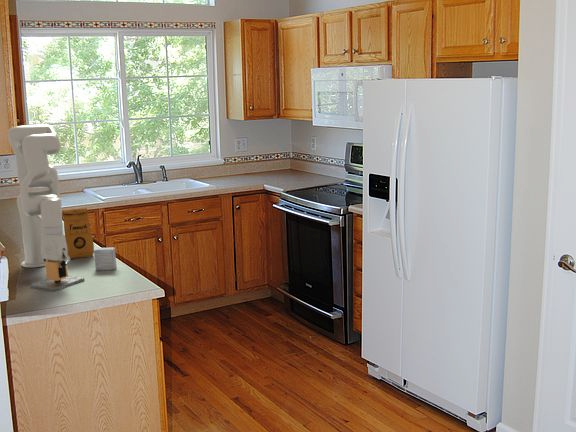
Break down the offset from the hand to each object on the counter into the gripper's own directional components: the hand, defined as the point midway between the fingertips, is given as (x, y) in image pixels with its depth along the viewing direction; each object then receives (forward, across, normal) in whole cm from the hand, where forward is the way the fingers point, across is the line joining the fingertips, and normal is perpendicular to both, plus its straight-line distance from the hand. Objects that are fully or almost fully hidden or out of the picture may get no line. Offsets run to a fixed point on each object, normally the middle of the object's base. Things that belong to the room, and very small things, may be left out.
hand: (57, 275), depth 271 cm
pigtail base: (+3, 0, 0) cm, 3 cm away
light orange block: (+1, 0, 0) cm, 1 cm away
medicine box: (+4, +2, +25) cm, 25 cm away
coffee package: (+4, -24, +35) cm, 42 cm away
